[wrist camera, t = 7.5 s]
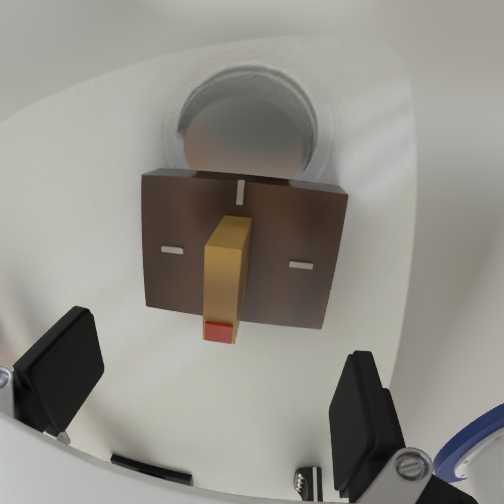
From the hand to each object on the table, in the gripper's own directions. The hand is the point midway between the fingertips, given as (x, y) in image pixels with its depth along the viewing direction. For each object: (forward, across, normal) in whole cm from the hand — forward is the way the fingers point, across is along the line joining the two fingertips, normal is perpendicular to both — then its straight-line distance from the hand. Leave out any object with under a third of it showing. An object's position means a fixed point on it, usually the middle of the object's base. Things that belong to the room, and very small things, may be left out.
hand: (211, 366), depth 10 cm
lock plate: (+12, +1, 0) cm, 12 cm away
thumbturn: (+9, +1, 0) cm, 9 cm away
